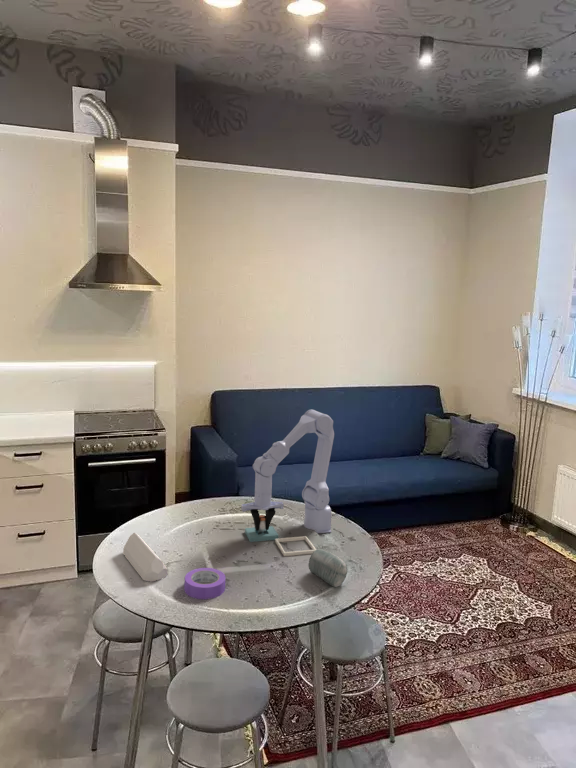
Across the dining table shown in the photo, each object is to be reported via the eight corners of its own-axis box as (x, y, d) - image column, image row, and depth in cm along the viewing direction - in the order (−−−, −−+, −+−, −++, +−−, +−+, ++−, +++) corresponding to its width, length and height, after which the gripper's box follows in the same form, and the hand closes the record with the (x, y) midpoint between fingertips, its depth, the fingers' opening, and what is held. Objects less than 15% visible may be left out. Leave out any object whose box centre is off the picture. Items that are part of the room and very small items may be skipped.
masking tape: (230, 582, 173) (230, 570, 173) (217, 602, 162) (217, 589, 162) (193, 576, 176) (193, 565, 175) (177, 596, 165) (178, 583, 164)
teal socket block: (272, 534, 208) (272, 526, 208) (278, 543, 201) (278, 535, 200) (244, 536, 206) (245, 528, 205) (249, 545, 198) (250, 537, 198)
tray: (306, 542, 202) (306, 536, 202) (316, 557, 192) (317, 550, 191) (274, 545, 199) (275, 538, 199) (283, 560, 189) (284, 553, 188)
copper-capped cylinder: (264, 533, 205) (265, 514, 204) (266, 537, 202) (267, 518, 201) (256, 534, 204) (257, 515, 203) (258, 537, 201) (259, 518, 200)
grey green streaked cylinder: (297, 562, 180) (315, 536, 179) (317, 569, 186) (335, 544, 185) (319, 593, 169) (338, 565, 168) (340, 598, 175) (359, 572, 174)
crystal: (115, 542, 188) (140, 574, 168) (134, 528, 190) (160, 558, 171) (126, 559, 191) (152, 592, 171) (145, 544, 194) (172, 575, 174)
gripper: (244, 497, 195) (243, 535, 197) (286, 494, 199) (285, 532, 201) (240, 489, 201) (239, 527, 203) (281, 487, 205) (279, 524, 208)
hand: (261, 529), depth 203 cm, fingers closed on copper-capped cylinder, 3 cm apart
